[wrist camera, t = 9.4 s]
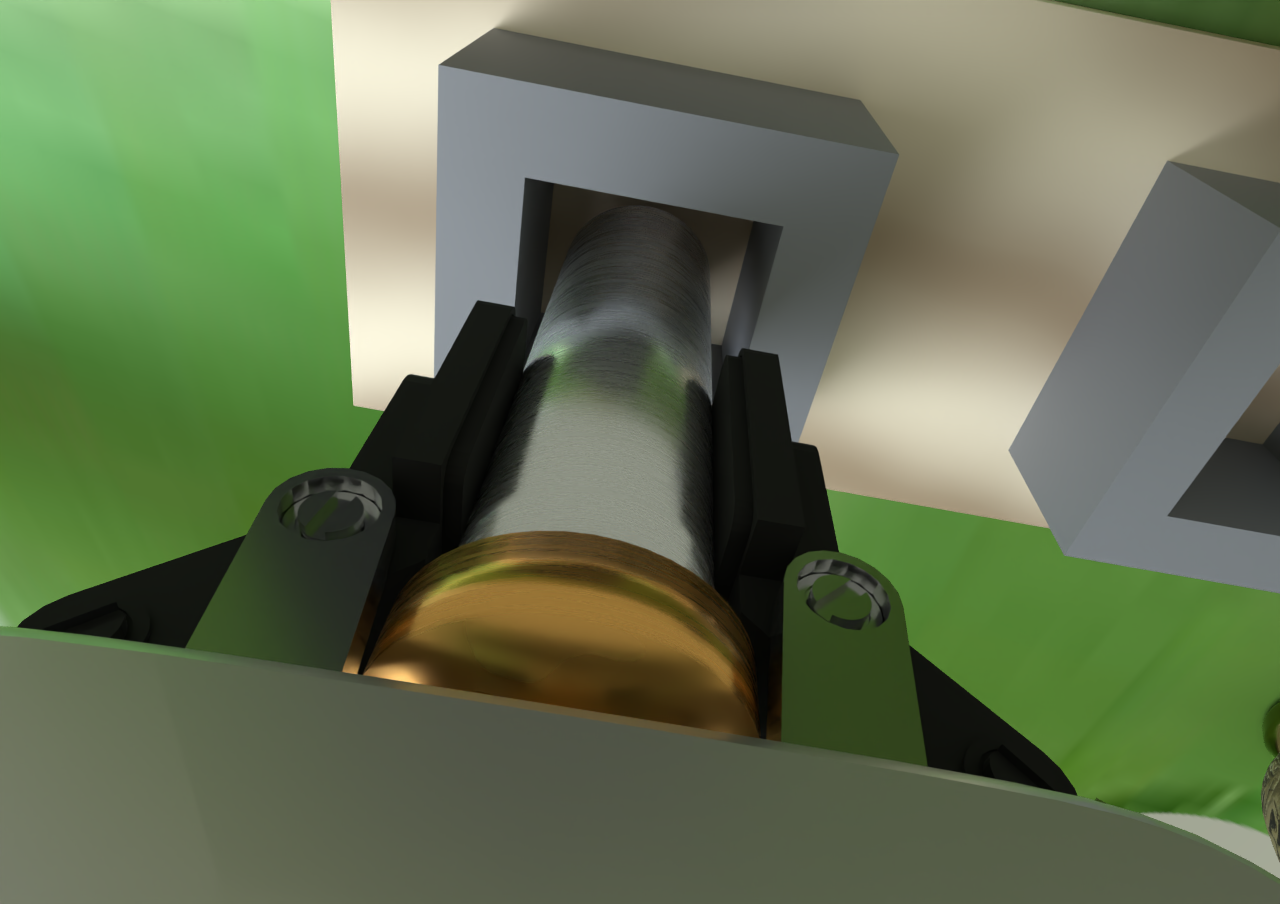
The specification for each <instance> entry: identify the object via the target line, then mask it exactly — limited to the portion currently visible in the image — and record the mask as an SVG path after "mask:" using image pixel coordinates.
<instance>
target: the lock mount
mask: <svg viewBox="0 0 1280 904" xmlns="http://www.w3.org/2000/svg"><path fill="white" fill-rule="evenodd" d="M1279 364H1280V183H1278V182H1273V181H1268V180H1263V179H1258V178H1253V177H1248V176H1243V175H1237V174H1232V173H1227V172H1222V171H1217V170H1212V169H1207V168H1202V167H1197V166H1192V165H1187V164H1182V163H1177V162H1172V161H1167V162H1166V164H1165V165H1164V167H1163V169H1162V171H1161V173H1160V175H1159V176H1158V178H1157V180H1156V182H1155V184H1154V186H1153V187H1152V189H1151V191H1150V193H1149V195H1148V196H1147V198H1146V200H1145V202H1144V204H1143V206H1142V207H1141V209H1140V211H1139V213H1138V215H1137V217H1136V218H1135V220H1134V222H1133V224H1132V226H1131V227H1130V229H1129V231H1128V233H1127V235H1126V237H1125V238H1124V240H1123V242H1122V244H1121V246H1120V248H1119V249H1118V251H1117V253H1116V255H1115V257H1114V258H1113V260H1112V262H1111V264H1110V266H1109V268H1108V269H1107V271H1106V273H1105V275H1104V277H1103V279H1102V280H1101V282H1100V284H1099V286H1098V288H1097V290H1096V291H1095V293H1094V295H1093V297H1092V299H1091V300H1090V302H1089V304H1088V306H1087V308H1086V310H1085V311H1084V313H1083V315H1082V317H1081V319H1080V321H1079V322H1078V324H1077V326H1076V328H1075V330H1074V331H1073V333H1072V335H1071V337H1070V339H1069V341H1068V342H1067V344H1066V346H1065V348H1064V350H1063V352H1062V353H1061V355H1060V357H1059V359H1058V361H1057V362H1056V364H1055V366H1054V368H1053V370H1052V372H1051V373H1050V375H1049V377H1048V379H1047V381H1046V383H1045V384H1044V386H1043V388H1042V390H1041V392H1040V393H1039V395H1038V397H1037V399H1036V401H1035V403H1034V404H1033V406H1032V408H1031V410H1030V412H1029V414H1028V415H1027V417H1026V419H1025V421H1024V423H1023V424H1022V426H1021V428H1020V430H1019V432H1018V434H1017V435H1016V437H1015V439H1014V441H1013V443H1012V445H1011V446H1010V448H1009V450H1008V451H1009V453H1010V454H1011V456H1012V458H1013V460H1014V462H1015V464H1016V466H1017V468H1018V469H1019V471H1020V473H1021V475H1022V477H1023V479H1024V481H1025V483H1026V484H1027V486H1028V488H1029V490H1030V492H1031V494H1032V496H1033V498H1034V499H1035V501H1036V503H1037V505H1038V507H1039V509H1040V511H1041V513H1042V514H1043V516H1044V518H1045V520H1046V522H1047V524H1048V526H1049V528H1050V529H1051V531H1052V533H1053V535H1054V537H1055V539H1056V541H1057V543H1058V544H1059V546H1060V548H1061V550H1062V552H1063V554H1064V555H1065V556H1071V557H1076V558H1082V559H1088V560H1093V561H1099V562H1105V563H1111V564H1116V565H1122V566H1128V567H1133V568H1139V569H1145V570H1150V571H1156V572H1162V573H1168V574H1173V575H1179V576H1185V577H1190V578H1196V579H1202V580H1208V581H1213V582H1219V583H1225V584H1230V585H1236V586H1242V587H1248V588H1253V589H1259V590H1265V591H1270V592H1276V593H1280V423H1279V424H1278V425H1277V426H1276V428H1275V429H1274V430H1273V432H1272V433H1271V434H1270V435H1269V437H1268V438H1267V439H1266V440H1265V442H1264V443H1263V444H1258V443H1252V442H1247V441H1241V440H1236V439H1231V438H1225V437H1226V436H1227V435H1228V433H1229V432H1230V431H1231V429H1232V428H1233V427H1234V425H1235V424H1236V422H1237V421H1238V420H1239V418H1240V417H1241V416H1242V414H1243V413H1244V412H1245V410H1246V409H1247V408H1248V406H1249V405H1250V404H1251V402H1252V401H1253V400H1254V398H1255V397H1256V395H1257V394H1258V393H1259V391H1260V390H1261V389H1262V387H1263V386H1264V385H1265V383H1266V382H1267V381H1268V379H1269V378H1270V377H1271V375H1272V374H1273V373H1274V371H1275V370H1276V368H1277V367H1278V366H1279Z"/></svg>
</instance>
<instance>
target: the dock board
mask: <svg viewBox="0 0 1280 904" xmlns="http://www.w3.org/2000/svg"><path fill="white" fill-rule="evenodd" d="M331 14H332V31H333V49H334V67H335V84H336V102H337V120H338V138H339V155H340V173H341V191H342V208H343V226H344V244H345V261H346V279H347V297H348V315H349V332H350V350H351V368H352V385H353V403H354V406H359V407H365V408H371V409H376V410H382V411H385V409H386V407H387V406H388V404H389V402H390V401H391V399H392V397H393V396H394V394H395V393H396V391H397V389H398V388H399V386H400V384H401V383H402V381H403V380H404V378H405V377H406V376H407V375H409V374H414V375H419V376H425V377H431V378H434V332H435V264H436V195H437V126H438V65H439V64H440V63H442V62H443V61H445V60H446V59H448V58H449V57H451V56H452V55H454V54H455V53H457V52H458V51H460V50H461V49H463V48H464V47H466V46H467V45H469V44H470V43H472V42H473V41H475V40H476V39H478V38H479V37H481V36H482V35H484V34H485V33H487V32H488V31H490V30H491V29H493V28H497V29H503V30H508V31H513V32H518V33H523V34H528V35H533V36H538V37H543V38H548V39H553V40H558V41H563V42H568V43H573V44H579V45H584V46H589V47H594V48H599V49H604V50H609V51H614V52H619V53H624V54H629V55H634V56H639V57H644V58H650V59H655V60H660V61H665V62H670V63H675V64H680V65H685V66H690V67H695V68H700V69H705V70H710V71H715V72H720V73H726V74H731V75H736V76H741V77H746V78H751V79H756V80H761V81H766V82H771V83H776V84H781V85H786V86H791V87H797V88H802V89H807V90H812V91H817V92H822V93H827V94H832V95H837V96H842V97H847V98H852V99H857V100H861V102H862V103H863V104H864V106H865V107H866V109H867V110H868V111H869V113H870V114H871V116H872V117H873V118H874V120H875V121H876V123H877V124H878V125H879V127H880V128H881V130H882V131H883V132H884V134H885V135H886V137H887V138H888V139H889V141H890V142H891V144H892V145H893V146H894V148H895V149H896V151H897V152H898V153H899V157H898V160H897V163H896V166H895V168H894V171H893V174H892V177H891V180H890V183H889V186H888V188H887V191H886V194H885V197H884V200H883V203H882V206H881V208H880V211H879V214H878V217H877V220H876V223H875V225H874V228H873V231H872V234H871V237H870V240H869V243H868V245H867V248H866V251H865V254H864V257H863V260H862V263H861V265H860V268H859V271H858V274H857V277H856V280H855V282H854V285H853V288H852V291H851V294H850V297H849V300H848V302H847V305H846V308H845V311H844V314H843V317H842V319H841V322H840V325H839V328H838V331H837V334H836V337H835V339H834V342H833V345H832V348H831V351H830V354H829V357H828V359H827V362H826V365H825V368H824V371H823V374H822V376H821V379H820V382H819V385H818V388H817V391H816V394H815V396H814V399H813V402H812V405H811V408H810V411H809V414H808V416H807V419H806V422H805V425H804V428H803V431H802V433H801V436H800V439H799V443H805V444H810V445H814V446H816V447H817V449H818V452H819V456H820V461H821V466H822V471H823V476H824V481H825V486H826V489H830V490H836V491H841V492H847V493H853V494H858V495H864V496H870V497H875V498H881V499H887V500H892V501H898V502H904V503H909V504H915V505H921V506H926V507H932V508H938V509H943V510H949V511H955V512H960V513H966V514H972V515H977V516H983V517H989V518H994V519H1000V520H1006V521H1011V522H1017V523H1023V524H1028V525H1034V526H1040V527H1045V528H1049V526H1048V524H1047V522H1046V520H1045V518H1044V516H1043V514H1042V513H1041V511H1040V509H1039V507H1038V505H1037V503H1036V501H1035V499H1034V498H1033V496H1032V494H1031V492H1030V490H1029V488H1028V486H1027V484H1026V483H1025V481H1024V479H1023V477H1022V475H1021V473H1020V471H1019V469H1018V468H1017V466H1016V464H1015V462H1014V460H1013V458H1012V456H1011V454H1010V453H1009V451H1008V450H1009V448H1010V446H1011V445H1012V443H1013V441H1014V439H1015V437H1016V435H1017V434H1018V432H1019V430H1020V428H1021V426H1022V424H1023V423H1024V421H1025V419H1026V417H1027V415H1028V414H1029V412H1030V410H1031V408H1032V406H1033V404H1034V403H1035V401H1036V399H1037V397H1038V395H1039V393H1040V392H1041V390H1042V388H1043V386H1044V384H1045V383H1046V381H1047V379H1048V377H1049V375H1050V373H1051V372H1052V370H1053V368H1054V366H1055V364H1056V362H1057V361H1058V359H1059V357H1060V355H1061V353H1062V352H1063V350H1064V348H1065V346H1066V344H1067V342H1068V341H1069V339H1070V337H1071V335H1072V333H1073V331H1074V330H1075V328H1076V326H1077V324H1078V322H1079V321H1080V319H1081V317H1082V315H1083V313H1084V311H1085V310H1086V308H1087V306H1088V304H1089V302H1090V300H1091V299H1092V297H1093V295H1094V293H1095V291H1096V290H1097V288H1098V286H1099V284H1100V282H1101V280H1102V279H1103V277H1104V275H1105V273H1106V271H1107V269H1108V268H1109V266H1110V264H1111V262H1112V260H1113V258H1114V257H1115V255H1116V253H1117V251H1118V249H1119V248H1120V246H1121V244H1122V242H1123V240H1124V238H1125V237H1126V235H1127V233H1128V231H1129V229H1130V227H1131V226H1132V224H1133V222H1134V220H1135V218H1136V217H1137V215H1138V213H1139V211H1140V209H1141V207H1142V206H1143V204H1144V202H1145V200H1146V198H1147V196H1148V195H1149V193H1150V191H1151V189H1152V187H1153V186H1154V184H1155V182H1156V180H1157V178H1158V176H1159V175H1160V173H1161V171H1162V169H1163V167H1164V165H1165V164H1166V162H1167V161H1172V162H1177V163H1182V164H1187V165H1192V166H1197V167H1202V168H1207V169H1212V170H1217V171H1222V172H1227V173H1232V174H1237V175H1243V176H1248V177H1253V178H1258V179H1263V180H1268V181H1273V182H1278V183H1280V47H1279V46H1274V45H1269V44H1264V43H1259V42H1254V41H1249V40H1244V39H1240V38H1235V37H1230V36H1225V35H1220V34H1215V33H1210V32H1205V31H1201V30H1196V29H1191V28H1186V27H1181V26H1176V25H1171V24H1166V23H1161V22H1157V21H1152V20H1147V19H1142V18H1137V17H1132V16H1127V15H1122V14H1117V13H1113V12H1108V11H1103V10H1098V9H1093V8H1088V7H1083V6H1078V5H1073V4H1069V3H1064V2H1059V1H1054V0H331ZM628 205H642V206H650V207H654V208H657V209H661V210H663V211H666V212H668V213H670V214H672V215H674V216H675V217H677V218H679V219H680V220H681V221H683V222H684V223H685V224H686V225H687V226H688V227H689V228H690V229H691V230H692V231H693V232H694V233H695V234H696V236H697V237H698V238H699V240H700V242H701V243H702V245H703V247H704V249H705V252H706V254H707V258H708V262H709V267H710V293H711V344H717V345H722V342H723V338H724V334H725V330H726V326H727V322H728V318H729V314H730V311H731V307H732V303H733V299H734V295H735V291H736V287H737V283H738V279H739V276H740V272H741V268H742V264H743V260H744V256H745V252H746V248H747V244H748V241H749V237H750V233H751V229H752V225H753V221H752V220H747V219H741V218H736V217H731V216H726V215H720V214H715V213H710V212H704V211H699V210H694V209H689V208H683V207H678V206H673V205H668V204H662V203H657V202H652V201H647V200H641V199H636V198H631V197H625V196H620V195H615V194H610V193H604V192H599V191H594V190H589V189H583V188H578V187H573V186H567V185H562V184H557V183H554V188H553V198H552V208H551V218H550V227H549V237H548V247H547V257H546V267H545V277H544V286H543V296H542V306H541V312H542V313H545V311H546V309H547V306H548V303H549V301H550V298H551V295H552V293H553V290H554V287H555V284H556V282H557V279H558V276H559V274H560V271H561V268H562V266H563V263H564V260H565V258H566V255H567V252H568V249H569V247H570V245H571V243H572V241H573V239H574V237H575V236H576V235H577V233H578V232H579V230H580V229H581V228H582V227H583V226H584V225H585V224H586V223H587V222H589V221H590V220H591V219H592V218H594V217H596V216H597V215H599V214H601V213H603V212H605V211H607V210H610V209H613V208H617V207H621V206H628ZM1279 423H1280V364H1279V366H1278V367H1277V368H1276V370H1275V371H1274V373H1273V374H1272V375H1271V377H1270V378H1269V379H1268V381H1267V382H1266V383H1265V385H1264V386H1263V387H1262V389H1261V390H1260V391H1259V393H1258V394H1257V395H1256V397H1255V398H1254V400H1253V401H1252V402H1251V404H1250V405H1249V406H1248V408H1247V409H1246V410H1245V412H1244V413H1243V414H1242V416H1241V417H1240V418H1239V420H1238V421H1237V422H1236V424H1235V425H1234V427H1233V428H1232V429H1231V431H1230V432H1229V433H1228V435H1227V436H1226V437H1225V438H1231V439H1236V440H1241V441H1247V442H1252V443H1258V444H1263V443H1264V442H1265V440H1266V439H1267V438H1268V437H1269V435H1270V434H1271V433H1272V432H1273V430H1274V429H1275V428H1276V426H1277V425H1278V424H1279Z"/></svg>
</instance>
